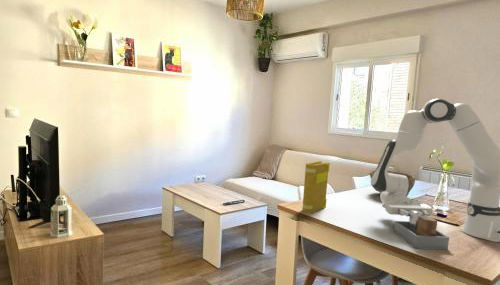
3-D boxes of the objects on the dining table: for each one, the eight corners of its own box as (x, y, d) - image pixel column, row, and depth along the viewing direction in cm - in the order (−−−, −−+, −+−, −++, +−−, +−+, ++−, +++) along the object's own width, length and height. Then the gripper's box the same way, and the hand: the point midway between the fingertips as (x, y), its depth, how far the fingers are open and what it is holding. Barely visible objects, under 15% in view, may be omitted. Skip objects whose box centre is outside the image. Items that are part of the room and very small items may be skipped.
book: (314, 204, 185) (318, 160, 183) (325, 207, 181) (329, 162, 178) (299, 210, 172) (303, 163, 170) (310, 213, 168) (314, 165, 165)
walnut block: (427, 239, 140) (429, 216, 139) (434, 244, 135) (437, 220, 134) (415, 238, 139) (418, 216, 138) (422, 243, 134) (425, 220, 133)
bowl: (358, 192, 221) (360, 170, 219) (387, 189, 232) (389, 169, 231) (391, 203, 196) (394, 179, 194) (422, 200, 208) (425, 177, 206)
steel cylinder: (416, 232, 148) (418, 210, 147) (422, 236, 143) (425, 214, 142) (405, 231, 147) (407, 210, 146) (411, 236, 142) (414, 213, 141)
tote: (422, 232, 150) (423, 222, 150) (447, 249, 133) (449, 237, 132) (393, 231, 149) (395, 221, 149) (415, 248, 132) (416, 236, 131)
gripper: (381, 198, 156) (395, 207, 142) (422, 200, 157) (440, 209, 143) (379, 211, 157) (393, 221, 143) (421, 212, 158) (439, 222, 144)
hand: (417, 215), depth 143 cm, fingers open, 7 cm apart
